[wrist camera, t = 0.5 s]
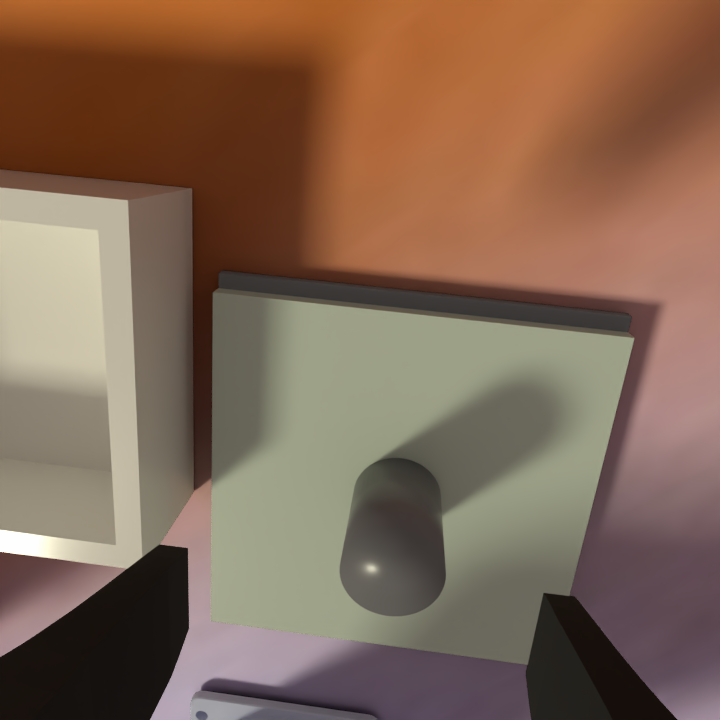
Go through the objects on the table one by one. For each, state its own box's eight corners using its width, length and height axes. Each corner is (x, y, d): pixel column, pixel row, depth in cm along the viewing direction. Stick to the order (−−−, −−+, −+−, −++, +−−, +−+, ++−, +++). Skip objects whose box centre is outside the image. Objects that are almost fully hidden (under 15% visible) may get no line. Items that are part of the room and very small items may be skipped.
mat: (543, 657, 24) (545, 665, 24) (218, 612, 25) (215, 619, 24) (627, 313, 19) (631, 316, 19) (222, 270, 20) (219, 272, 19)
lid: (548, 655, 23) (577, 771, 19) (215, 610, 24) (171, 711, 20) (628, 332, 19) (690, 387, 15) (218, 288, 20) (162, 328, 15)
